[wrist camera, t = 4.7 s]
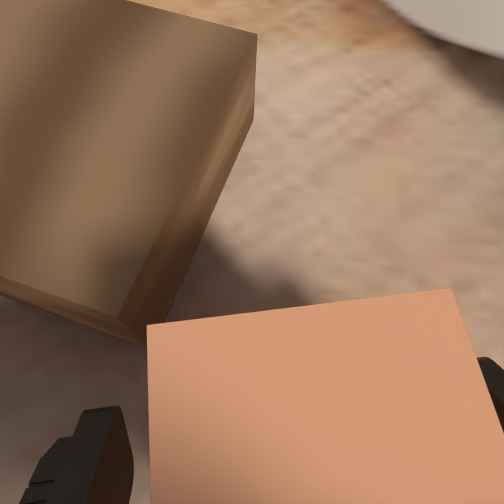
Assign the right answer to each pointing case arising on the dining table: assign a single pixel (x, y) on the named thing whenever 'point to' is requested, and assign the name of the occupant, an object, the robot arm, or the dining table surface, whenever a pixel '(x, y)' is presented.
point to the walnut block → (113, 153)
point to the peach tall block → (323, 407)
